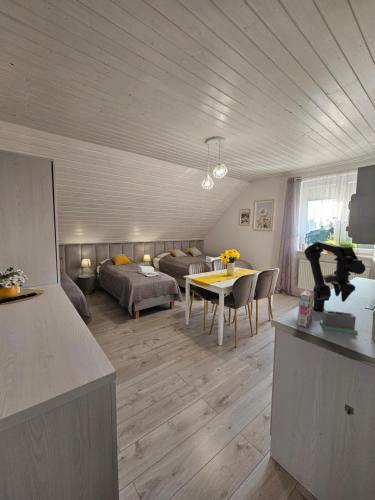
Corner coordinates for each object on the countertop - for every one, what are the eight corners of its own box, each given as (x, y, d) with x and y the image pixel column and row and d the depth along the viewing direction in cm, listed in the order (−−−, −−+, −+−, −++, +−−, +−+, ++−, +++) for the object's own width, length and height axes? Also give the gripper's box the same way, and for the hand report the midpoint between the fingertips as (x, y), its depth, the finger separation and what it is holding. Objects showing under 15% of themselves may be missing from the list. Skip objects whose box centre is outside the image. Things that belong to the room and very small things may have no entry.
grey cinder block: (322, 321, 115) (323, 310, 114) (350, 324, 111) (351, 313, 110) (325, 325, 110) (326, 313, 109) (354, 329, 106) (355, 317, 106)
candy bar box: (307, 328, 110) (310, 296, 108) (297, 325, 113) (299, 294, 111) (312, 321, 119) (314, 291, 117) (302, 318, 122) (304, 289, 120)
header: (319, 322, 117) (320, 313, 116) (350, 326, 112) (351, 317, 112) (324, 329, 109) (324, 319, 108) (357, 334, 105) (358, 323, 104)
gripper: (320, 266, 128) (318, 292, 130) (330, 272, 110) (328, 302, 112) (342, 267, 125) (340, 294, 127) (357, 274, 107) (354, 305, 109)
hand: (339, 298), depth 119 cm, fingers open, 9 cm apart
